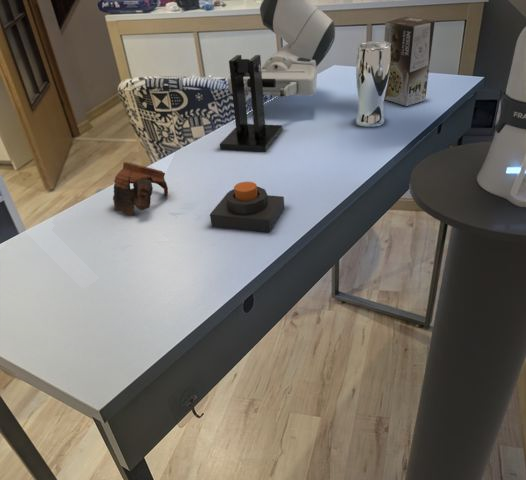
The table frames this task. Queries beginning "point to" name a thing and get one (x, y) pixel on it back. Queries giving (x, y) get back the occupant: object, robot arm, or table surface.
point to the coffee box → (409, 59)
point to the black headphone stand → (244, 133)
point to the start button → (245, 191)
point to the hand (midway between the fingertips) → (262, 93)
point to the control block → (248, 212)
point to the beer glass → (372, 81)
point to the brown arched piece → (136, 187)
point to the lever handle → (244, 72)
